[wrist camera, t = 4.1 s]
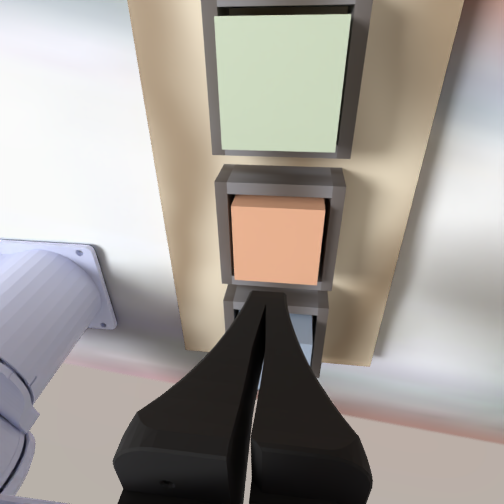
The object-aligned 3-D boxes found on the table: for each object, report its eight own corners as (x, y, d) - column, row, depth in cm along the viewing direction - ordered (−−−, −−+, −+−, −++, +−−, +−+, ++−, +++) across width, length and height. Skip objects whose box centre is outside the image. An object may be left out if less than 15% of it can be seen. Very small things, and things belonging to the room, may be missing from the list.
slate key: (242, 350, 25) (235, 387, 22) (241, 302, 22) (233, 337, 20) (306, 355, 24) (306, 394, 22) (311, 307, 22) (312, 344, 19)
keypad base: (190, 335, 29) (176, 376, 26) (133, -44, 16) (88, -60, 13) (366, 351, 28) (375, 396, 24) (465, -56, 14) (513, -78, 11)
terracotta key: (242, 249, 22) (234, 279, 19) (240, 181, 19) (231, 206, 17) (315, 254, 21) (316, 285, 19) (322, 184, 19) (325, 210, 16)
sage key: (234, 129, 17) (221, 149, 14) (230, 16, 14) (214, 16, 12) (330, 131, 16) (335, 152, 14) (342, 14, 14) (351, 14, 11)
